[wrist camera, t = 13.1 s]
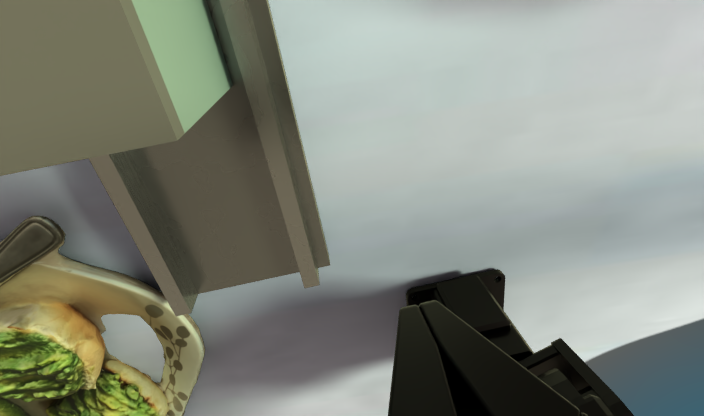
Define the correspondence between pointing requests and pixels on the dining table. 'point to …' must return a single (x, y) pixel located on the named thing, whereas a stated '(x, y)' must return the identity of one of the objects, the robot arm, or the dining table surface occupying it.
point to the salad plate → (82, 335)
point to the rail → (225, 178)
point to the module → (102, 77)
